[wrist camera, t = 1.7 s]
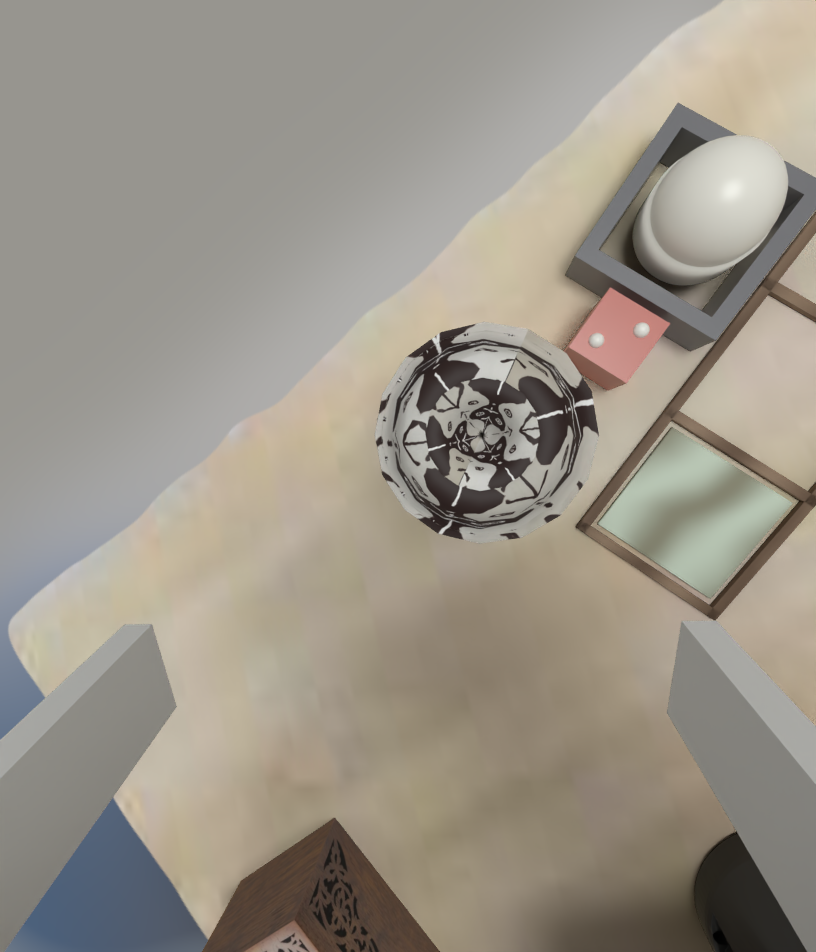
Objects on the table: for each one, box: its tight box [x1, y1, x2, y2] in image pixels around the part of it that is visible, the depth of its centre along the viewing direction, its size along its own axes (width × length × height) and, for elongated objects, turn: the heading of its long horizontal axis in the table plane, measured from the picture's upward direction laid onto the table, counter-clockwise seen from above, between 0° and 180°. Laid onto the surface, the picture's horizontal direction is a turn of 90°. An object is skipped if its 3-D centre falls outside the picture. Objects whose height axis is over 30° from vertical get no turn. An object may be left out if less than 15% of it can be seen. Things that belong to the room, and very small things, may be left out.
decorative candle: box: [375, 322, 599, 544], centre depth 27 cm, size 9×9×25 cm
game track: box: [576, 212, 816, 620], centre depth 34 cm, size 14×36×1 cm, turn 147°
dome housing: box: [564, 103, 816, 390], centre depth 33 cm, size 12×18×6 cm, turn 147°
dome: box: [633, 135, 788, 286], centre depth 29 cm, size 8×8×8 cm
